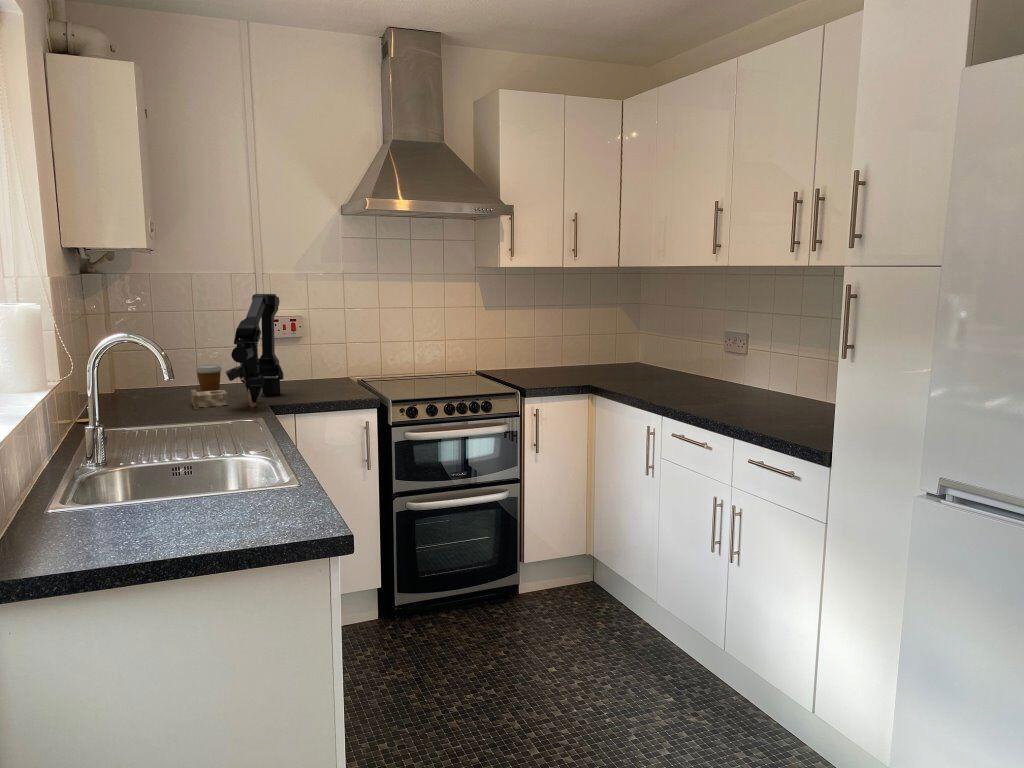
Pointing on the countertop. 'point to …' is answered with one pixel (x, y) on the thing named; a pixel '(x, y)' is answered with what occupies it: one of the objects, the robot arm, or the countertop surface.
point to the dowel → (250, 400)
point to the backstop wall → (195, 399)
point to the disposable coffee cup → (209, 377)
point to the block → (212, 398)
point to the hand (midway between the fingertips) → (252, 400)
